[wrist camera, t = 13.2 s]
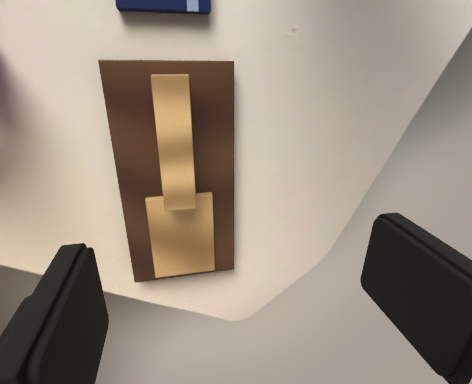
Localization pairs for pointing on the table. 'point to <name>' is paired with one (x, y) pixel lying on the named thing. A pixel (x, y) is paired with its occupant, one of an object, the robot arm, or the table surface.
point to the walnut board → (147, 156)
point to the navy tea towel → (165, 6)
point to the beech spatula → (178, 187)
